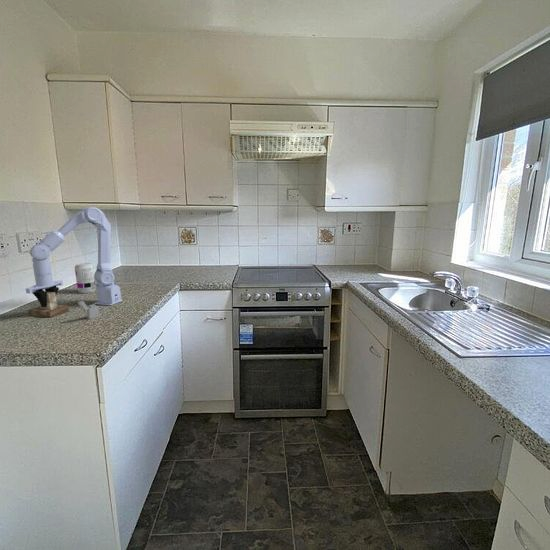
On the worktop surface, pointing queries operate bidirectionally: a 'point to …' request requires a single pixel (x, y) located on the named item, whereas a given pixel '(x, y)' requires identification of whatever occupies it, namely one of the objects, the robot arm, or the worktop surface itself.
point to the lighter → (90, 310)
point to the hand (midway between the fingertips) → (48, 305)
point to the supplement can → (85, 278)
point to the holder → (48, 311)
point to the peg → (50, 301)
